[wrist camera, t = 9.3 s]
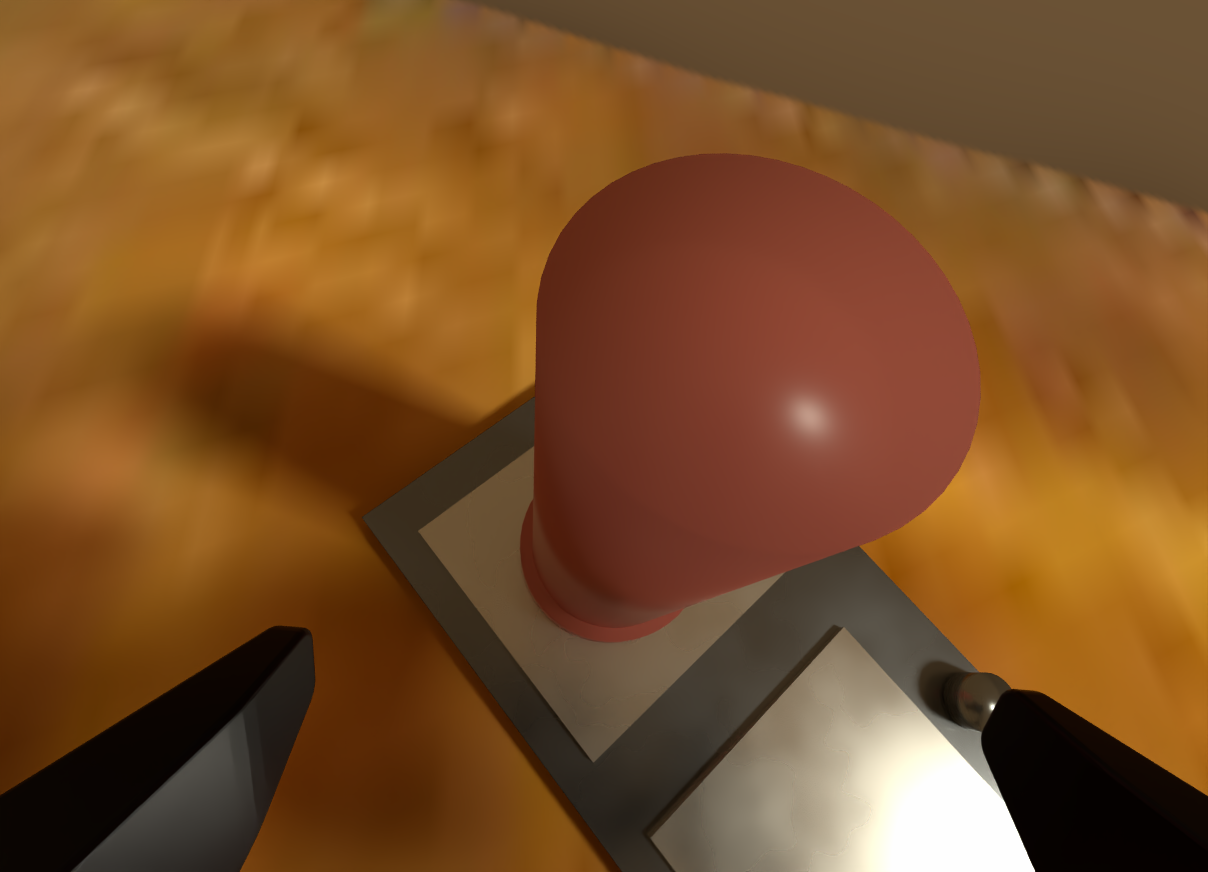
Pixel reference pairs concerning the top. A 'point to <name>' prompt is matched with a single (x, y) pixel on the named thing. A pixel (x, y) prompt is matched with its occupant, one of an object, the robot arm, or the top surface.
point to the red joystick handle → (732, 389)
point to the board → (718, 698)
